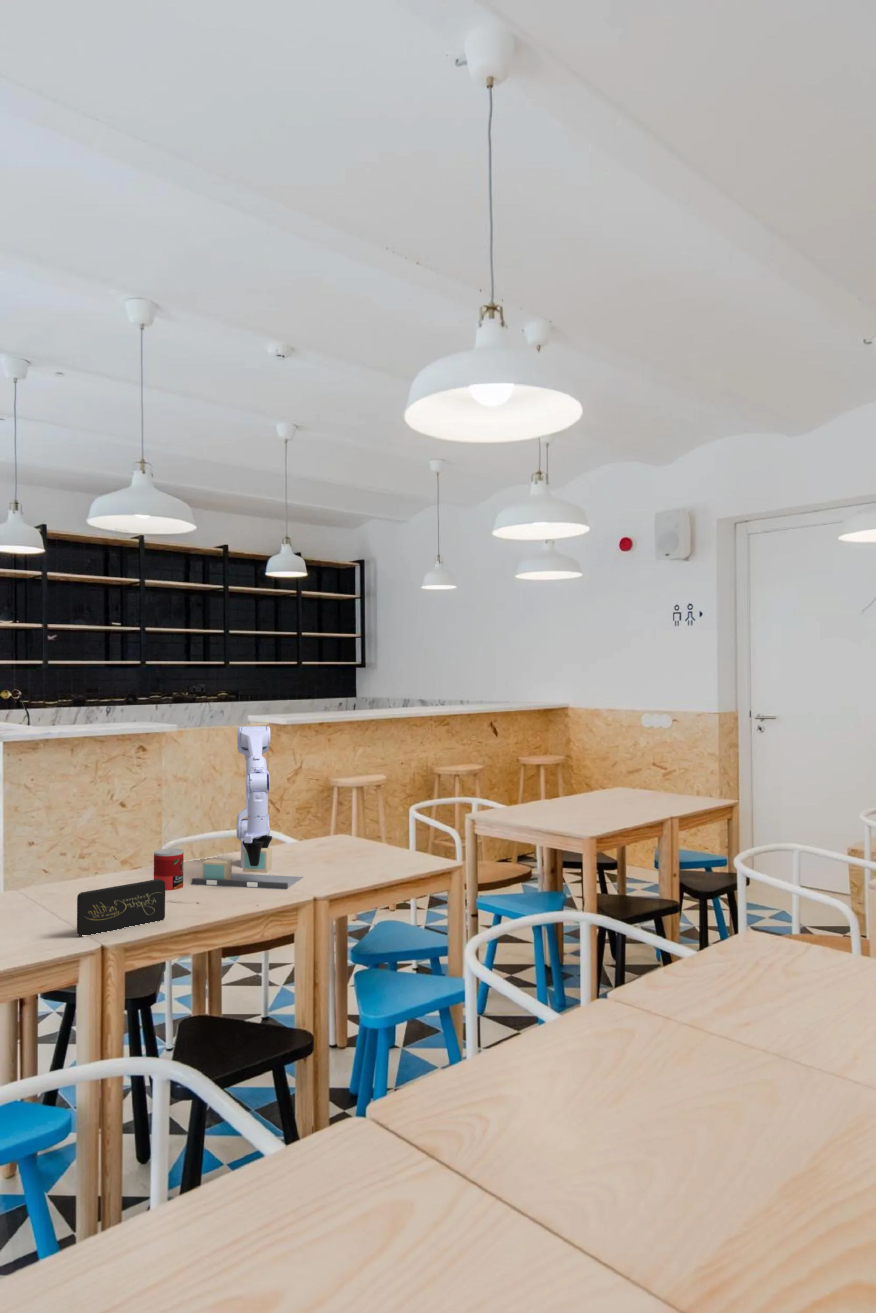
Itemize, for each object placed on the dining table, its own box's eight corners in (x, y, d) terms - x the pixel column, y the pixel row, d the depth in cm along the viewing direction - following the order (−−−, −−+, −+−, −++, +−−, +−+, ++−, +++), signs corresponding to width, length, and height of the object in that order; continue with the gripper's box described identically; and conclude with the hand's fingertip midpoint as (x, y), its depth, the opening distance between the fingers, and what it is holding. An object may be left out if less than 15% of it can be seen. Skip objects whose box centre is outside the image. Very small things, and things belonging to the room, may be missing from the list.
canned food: (178, 894, 243) (178, 853, 243) (149, 893, 243) (149, 853, 244) (186, 887, 251) (187, 848, 251) (158, 886, 251) (159, 847, 251)
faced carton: (231, 881, 254) (231, 860, 254) (225, 884, 250) (225, 863, 250) (208, 880, 255) (208, 859, 255) (202, 883, 251) (202, 862, 251)
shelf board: (213, 875, 265) (213, 867, 265) (303, 880, 260) (303, 871, 260) (190, 888, 250) (191, 879, 250) (285, 893, 245) (286, 884, 245)
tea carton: (271, 869, 252) (271, 848, 252) (266, 872, 248) (266, 851, 248) (248, 868, 253) (248, 847, 253) (242, 871, 249) (242, 850, 249)
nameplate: (161, 918, 220) (161, 878, 220) (164, 920, 219) (165, 879, 219) (76, 936, 206) (77, 892, 206) (80, 938, 204) (80, 894, 204)
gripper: (254, 811, 259) (253, 857, 259) (234, 819, 245) (233, 868, 244) (277, 811, 258) (276, 858, 257) (258, 820, 243) (258, 870, 243)
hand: (257, 863), depth 251 cm, fingers closed on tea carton, 4 cm apart
